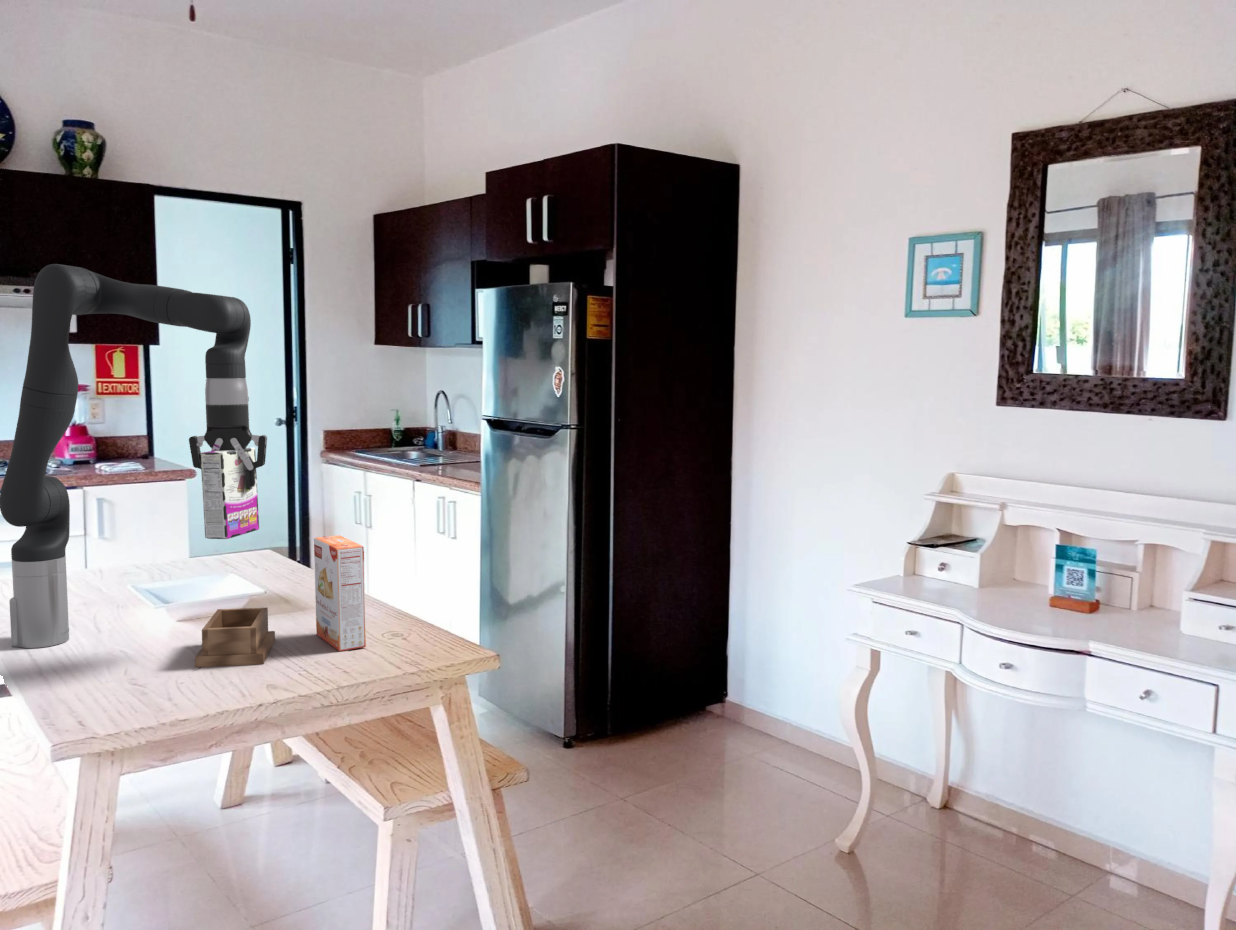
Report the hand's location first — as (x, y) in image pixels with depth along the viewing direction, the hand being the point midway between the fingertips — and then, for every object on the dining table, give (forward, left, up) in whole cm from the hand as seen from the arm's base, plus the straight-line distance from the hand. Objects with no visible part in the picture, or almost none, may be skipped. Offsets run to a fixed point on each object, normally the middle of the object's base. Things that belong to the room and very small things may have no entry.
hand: (230, 489), depth 185 cm
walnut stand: (0, 0, -32) cm, 32 cm away
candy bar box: (0, 0, -9) cm, 9 cm away
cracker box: (+19, +5, -32) cm, 38 cm away
